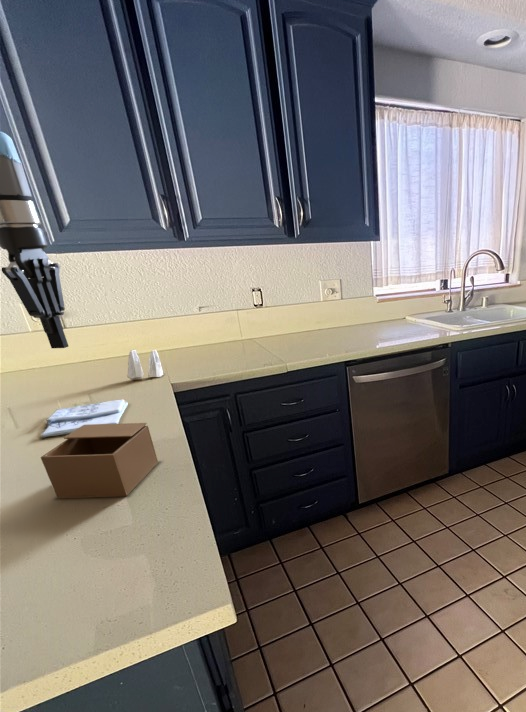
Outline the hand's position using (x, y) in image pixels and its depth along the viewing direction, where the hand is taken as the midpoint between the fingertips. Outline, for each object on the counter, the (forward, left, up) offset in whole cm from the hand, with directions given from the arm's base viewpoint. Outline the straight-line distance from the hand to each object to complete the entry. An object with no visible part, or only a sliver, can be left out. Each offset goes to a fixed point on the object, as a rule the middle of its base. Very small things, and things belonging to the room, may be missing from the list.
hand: (60, 347), depth 92 cm
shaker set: (-18, +62, -27) cm, 70 cm away
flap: (+10, -8, -16) cm, 21 cm away
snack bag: (-16, +22, -27) cm, 38 cm away
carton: (+10, -12, -26) cm, 31 cm away
